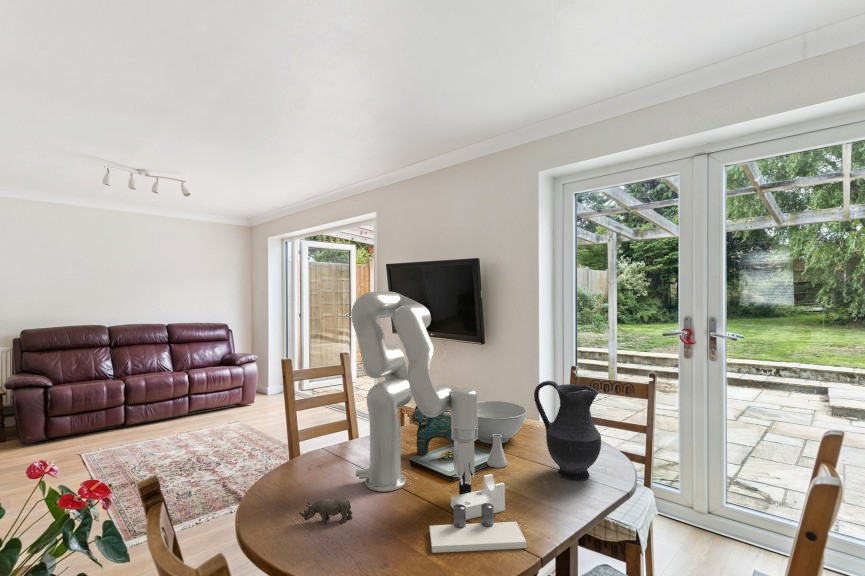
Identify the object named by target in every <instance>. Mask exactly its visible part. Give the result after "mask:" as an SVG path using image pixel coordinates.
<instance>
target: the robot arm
mask: <svg viewBox="0 0 865 576" xmlns="http://www.w3.org/2000/svg"><path fill="white" fill-rule="evenodd" d="M350 316H351V322H352V326H353V329H354V333H355V336H356V338H357V339H356V340H357V343H358V347H359V348H358V349H359V352H360V357H361V361H362V364H363V369H364V372H365V374H366V375H367V376H368V377H369V378H370V379H381V378H384V379H385V380H383V381H380V382H378V383H376V384H374V385H373V386H372V387H371V388H370V389H369V390H368V391H367V395H366V407H367V412H368V417H369V418H368V419H369V421H368V422H369V460H370V461H369V463H370V464H369V468H366V469H356V470H355V477H358V479H359V480H363V479H365V480H364V482H365V483H364V485H365V487H366V488H368V489H369V490H372V491H375V492H383V493H384V492H393V491H396V490H398V489H401V488H403V487H404V486H405V485H406V483H407V482H406V481H407V479H406V476H405V475H404V474H403V473H402V471H401V469H402V467H401V466H402V465H401V461H402V460H401V459H402V458H401V457H402V456H401V454H402V451H401V446H402V445H401V444H402V443H401V442H402V441H401V439H402V438H401V422H400V418H399V416H398V411H397V410H398V409H399V408H402V407H403V406H405V405H407V404H408V403H410V402H411V400H412V399H413V400H414V402H415V404H416V406H417V407H418V408H419V410H420V411H421V412H422V414H424V415H425V416H427V417H436V416H438V415H440V414H442V413H443V412H444V413H447V412H446V411H451V413H450V414H451V438H452V439H453V440H454V446H453V465H452V466H453V469H454V472H455V475H456V477H457V478H458V479H459V482H458V495H461V494H466V493H470V492H472V483H471V482H472V481H471V480H472V479H471V478H474V476H475V470H476V469H475V468H476V467H475V461H476V460H475V442H476V441H477V440H479V439H478V424H477V402H478V394H477V391H476V390H475V389H472V388H467V387H457V386H453V385H449V384H439V385H437V386H434V383H433V380H432V378H431V373H430V371H431V370H430V367H431V361H432V358H433V356H434V353H435V346H434V344H433V342H432V341H431V338H430V335H429V333H428V330H427V328H428V327H429V326H430V324H431V323H432V322H431V321H432V317H431V313H430V310H429V309H428V308H427V307H426V306H424V305H423V304H421V303H419V302H418V301H415V300H414V299H411V298H409V297H408V296H404V295H402V294H401V293H398V292H396V291H395V292H394V291H370V292H369V291H368V292H364V293H363V294H361V295H360V296H359V297H358V298H356V300H355V301H354V303H353V306H352V307H351V315H350ZM385 318H392V322H393V326H394V329H395V331H396V334H397V335H398V338H399V340H400V342H401V343H400V344H401V345H402V347H403V351H402V349H401V348H400V347H399V346H397V345H391V344H389V345H387V342H386V338H385V334H384V331H383V329H382V327H381V326H380V325H381V324H379V322H378V319H385ZM404 353H405V354H404ZM406 357H407V358H406Z"/></svg>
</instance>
